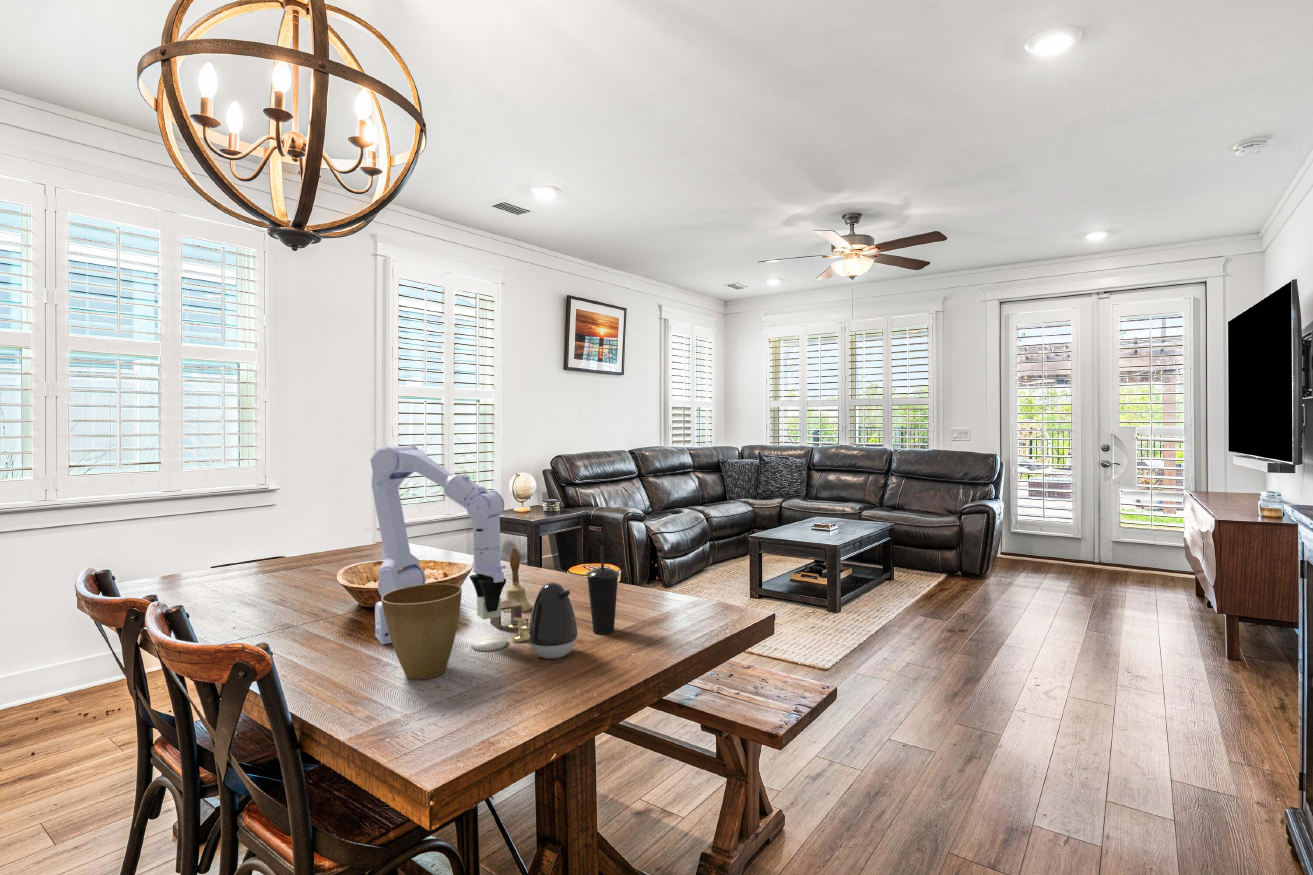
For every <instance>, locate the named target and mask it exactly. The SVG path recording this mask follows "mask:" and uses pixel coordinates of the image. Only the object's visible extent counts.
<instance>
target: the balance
mask: <svg viewBox="0 0 1313 875" xmlns="http://www.w3.org/2000/svg"><path fill="white" fill-rule="evenodd" d="M524 622H526V623H525V624H524ZM529 622H530V619H529V618H526V617H522V618H516V617H515V618H513V619H511V618H510V623H508V624H507V628H508V629H517V630H518V633H516V634H515V635H513V636H512V642H513V643H517V644H518V643H526V642H529V639H528V633H524V630H525V631H526V630H528V631H529V624H530V623H529Z"/></svg>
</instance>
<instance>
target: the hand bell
mask: <svg viewBox="0 0 1313 875" xmlns="http://www.w3.org/2000/svg"><path fill="white" fill-rule="evenodd" d="M510 551H511V552H510V554H509V555H510V556H509V566H510V569H511V574H512V575H511V576H512V578H511V579H512V585H511V586H510V587H508V588H507V592H506V599H505V601H506V600H512V599H513V600H515V601H516V602H518V603H520V604H522V613H523V612H527V611H529V610H531V609H533V604H532V603H531V602H530V601H529V600H528V598H527V594H526V590H525V587H524V586H522V585H521V584H520V578H519V577H520V576H519V569H520V565H521V564H520V563H521V561H520V554H519V552H518V549H517V547H511V550H510ZM501 612H504V613H509V614H511V609H506V610H501Z"/></svg>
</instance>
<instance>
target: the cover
mask: <svg viewBox="0 0 1313 875" xmlns="http://www.w3.org/2000/svg"><path fill="white" fill-rule="evenodd" d="M506 609H511V613H510V620H511V619H513V618H515V617H516V618H523V612H522V604H520V603H518V602H516V601H515V600H513V599H512V600H506V599H505V600H501V610H506ZM489 620H490V625H491V626H493V627H494V628H496V629H497V630H499V631H501V630H502V615H501V616H500V617H495V618H489Z"/></svg>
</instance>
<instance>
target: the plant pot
mask: <svg viewBox="0 0 1313 875" xmlns="http://www.w3.org/2000/svg"><path fill="white" fill-rule="evenodd" d="M462 592H463V588H462V587H461V586H459V585H458V584H453V583H425V584H423V585H415V586H409V587H405V588H400V589H397V590H394V591H391V592H388V593H386V594H385V595H383V596H381V599H380V601H382V605H383V610H384V615H385V619H386V624H387V627H388V631H389V634H390V638H391V641H392V643H391V644H392V646H393V650H394V652H395V654H396V658H397V659H398V662H399V664H400V666H401V668H402V672H403V673H404V675H405V677H406V678H408V679H410V680H413V681H415V680H418V681H419V680H420V681H421V680H427V679H428V680H429V679H432V678H436V677H438V676H440V675H443V674H444V673H445V671H446V668H448V667H447V666H448V663H449V660H450V656H451V654H452V650H453V647H454V642H455V638H456V635H457V628H458V624H459V618H460V612H461V602H462Z"/></svg>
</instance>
